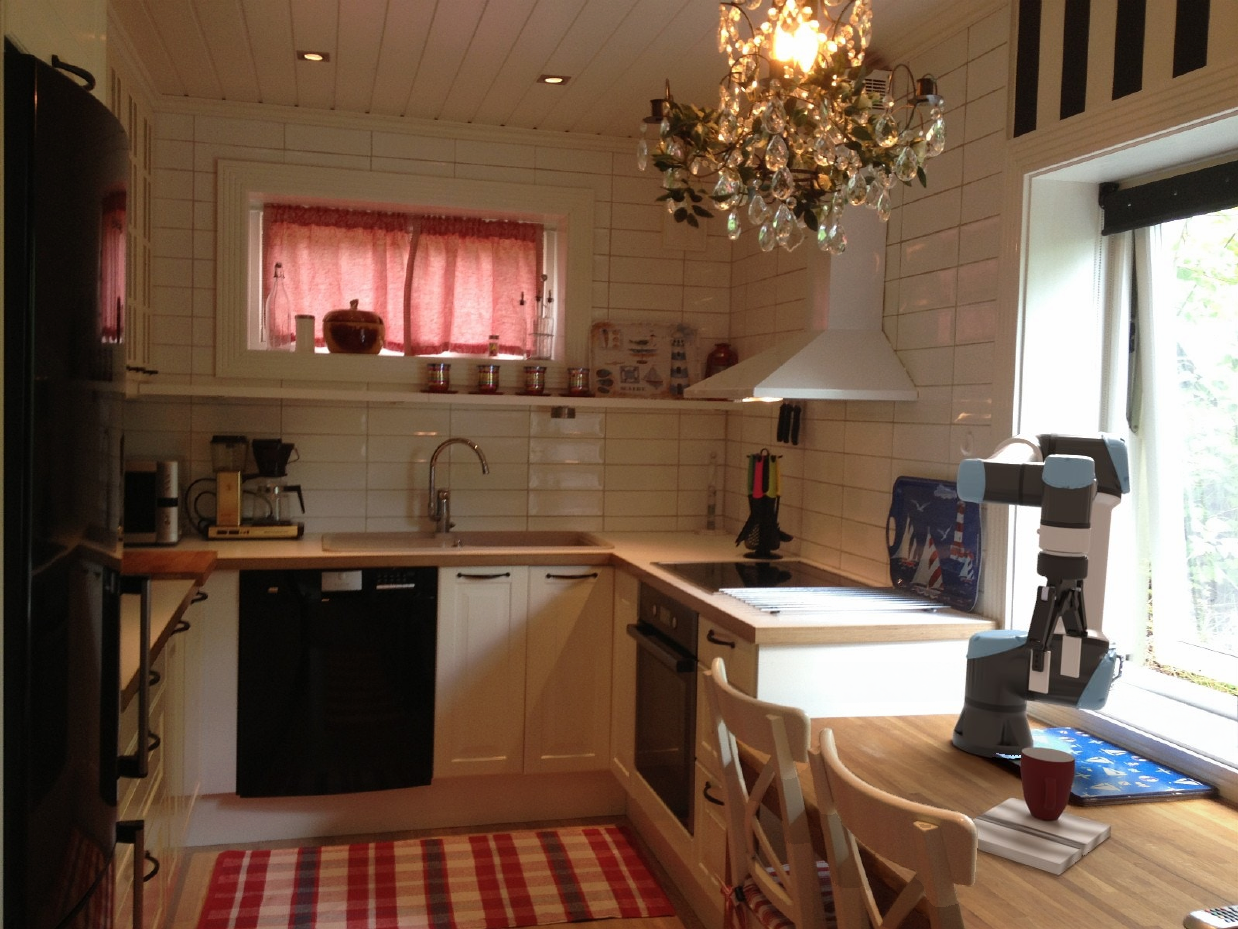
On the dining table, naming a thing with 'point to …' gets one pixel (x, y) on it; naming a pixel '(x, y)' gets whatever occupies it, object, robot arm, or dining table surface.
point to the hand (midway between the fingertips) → (1054, 683)
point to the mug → (1046, 781)
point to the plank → (1051, 825)
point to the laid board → (1026, 846)
